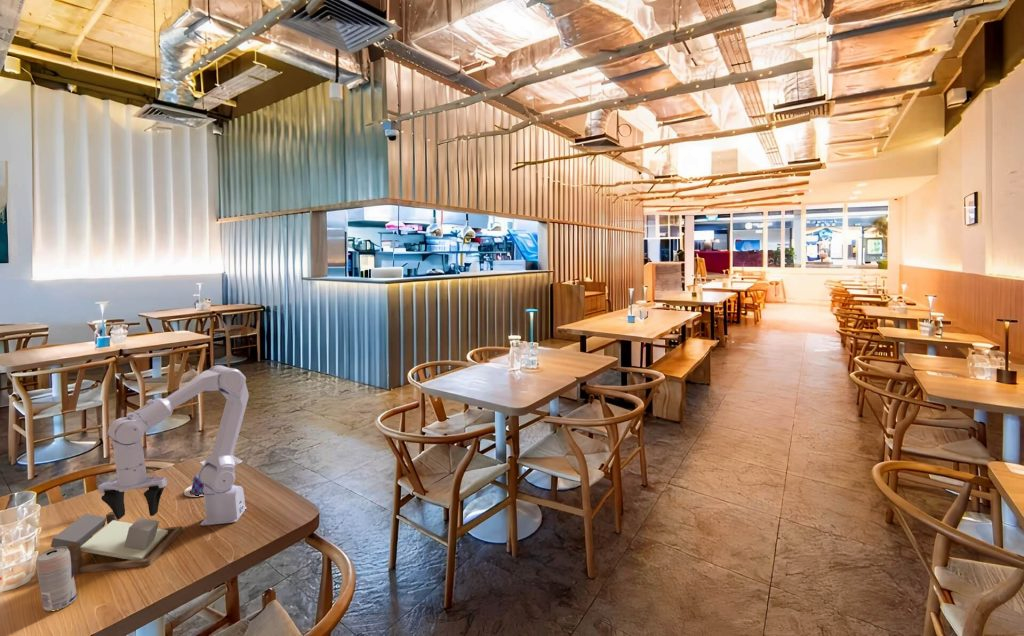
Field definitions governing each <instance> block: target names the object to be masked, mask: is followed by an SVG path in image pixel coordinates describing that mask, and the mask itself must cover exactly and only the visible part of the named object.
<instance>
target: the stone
mask: <svg viewBox="0 0 1024 636" xmlns="http://www.w3.org/2000/svg"><path fill="white" fill-rule="evenodd" d="M132 524H133V525H131V526H130V527H129V530H128V534H127V538H126V542H125V545H124V547H127V548H132V549H138V550H145V549H146V548H147V547H148V546H149V545H150V544H151V543H152V542H153V541H154V539H155V536H156V532H157V528H159V524H160V521H159V520H155V519H150V518H145V517H139V518H138V519H137V520H136V521H135V522H133V523H132Z"/></svg>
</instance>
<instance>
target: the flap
mask: <svg viewBox="0 0 1024 636" xmlns="http://www.w3.org/2000/svg"><path fill="white" fill-rule="evenodd" d="M106 523H107V519H106V516H100V515H94V514H89V513H85V514H83V515H82V516H80V518H78V519H77V520H75V521H74V522H72V523H71V524H69V525H68V526H67V527H66V528H64V529H62V530H61V531H60V532H59V533H57V534H56V535H55V536H53V537H52V540H51V544H50V548H56V547H61V546H65V547H66V546H67V545H68V544H70V543H78V542H79V543H80V545H82V544H83V543H84V542H85V541H86V540H88V539H89V538H90V537H91V536H92V538H90V539H89V540H88V541H87V542H86V543H84V544H83V545H82V546H81V547H80V550H81V552H85V553H91V554H94V555H96V554H97V555H101V556H105V557H106V556H107V557H113V558H117V559H124V560H127V561H130V560H139V559H146V557H147V556H148V555H149V554H150V553H151V552H152V550H154V548H156V547H157V545H158V544H159V543H160V542H161V541H162V540H163V539H164V538H165V537H166V536H167V535H168V534H169V533H168V530H163V529H158V528H159V527H158V528H157V532H156V536H155V539H154V541H153V542H152V543H151V544H150V545H149V546H148V547H147V548H146V549H145V550H138V549H132V548H127V547H124V545H125V542H126V538H127V534H128V530H129V527H130V526H131V525H133V524H134V523H131V522H126V521H120V520H119V521H115V520H112V521H111V522H110V523H109V524H108V525H107V524H106Z"/></svg>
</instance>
